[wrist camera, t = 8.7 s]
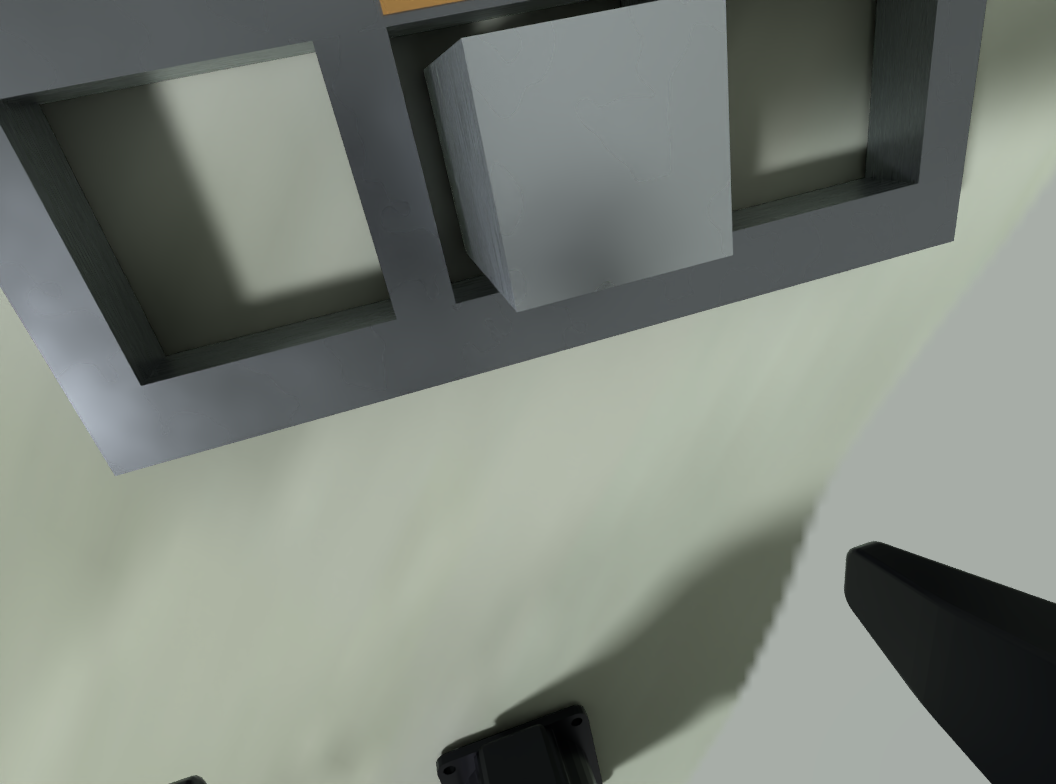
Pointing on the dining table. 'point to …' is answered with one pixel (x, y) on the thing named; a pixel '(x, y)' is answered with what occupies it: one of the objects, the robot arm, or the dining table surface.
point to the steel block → (589, 147)
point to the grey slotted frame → (400, 215)
